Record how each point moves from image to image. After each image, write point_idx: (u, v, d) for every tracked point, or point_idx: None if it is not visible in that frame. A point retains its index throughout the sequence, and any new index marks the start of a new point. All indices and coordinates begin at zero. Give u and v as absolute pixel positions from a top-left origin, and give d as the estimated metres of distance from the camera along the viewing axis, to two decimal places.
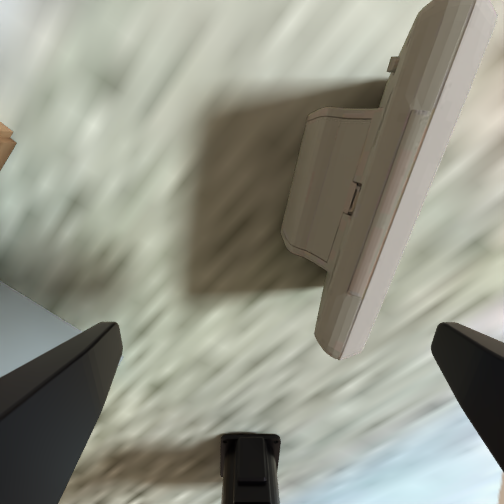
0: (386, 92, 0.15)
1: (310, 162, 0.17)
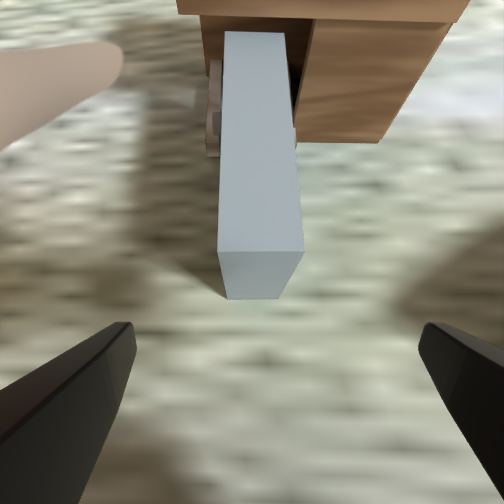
0: None
1: None
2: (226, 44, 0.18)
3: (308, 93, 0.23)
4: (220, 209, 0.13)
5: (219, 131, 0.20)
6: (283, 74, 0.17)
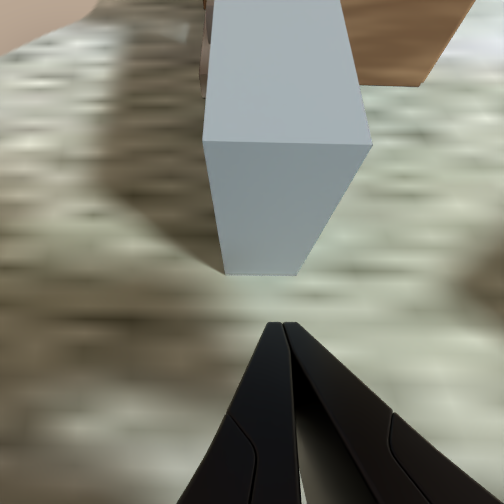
0: None
1: None
2: None
3: None
4: (211, 77, 0.07)
5: None
6: None
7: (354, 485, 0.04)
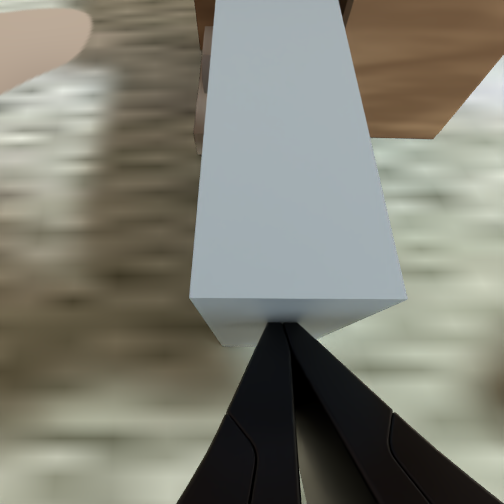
0: None
1: None
2: None
3: None
4: (202, 195, 0.06)
5: None
6: None
7: (354, 485, 0.04)
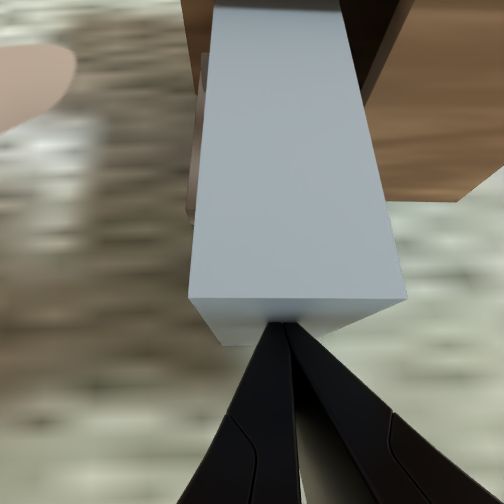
0: None
1: None
2: None
3: None
4: (201, 194, 0.06)
5: None
6: None
7: (354, 485, 0.04)
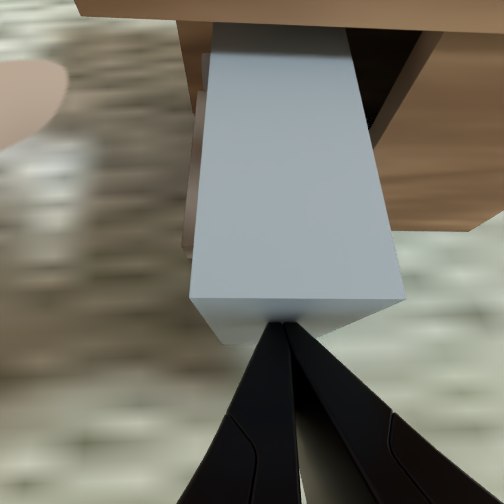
0: None
1: None
2: None
3: None
4: (202, 195, 0.06)
5: None
6: None
7: (354, 485, 0.04)
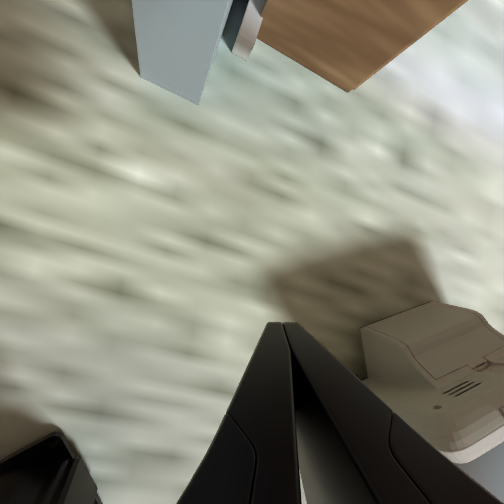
0: None
1: (450, 321, 0.23)
2: None
3: None
4: None
5: None
6: None
7: (354, 485, 0.04)
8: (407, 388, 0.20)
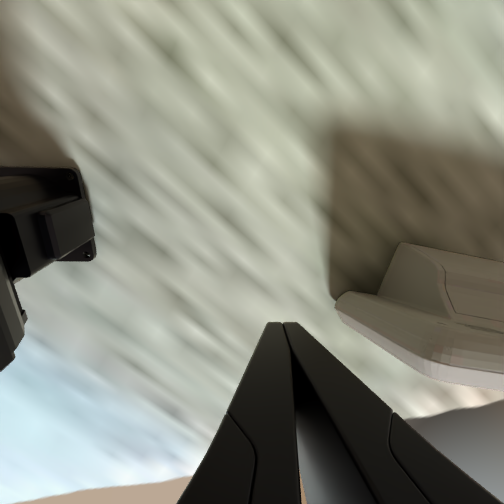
0: None
1: None
2: None
3: None
4: None
5: None
6: None
7: (354, 485, 0.04)
8: (415, 309, 0.17)
